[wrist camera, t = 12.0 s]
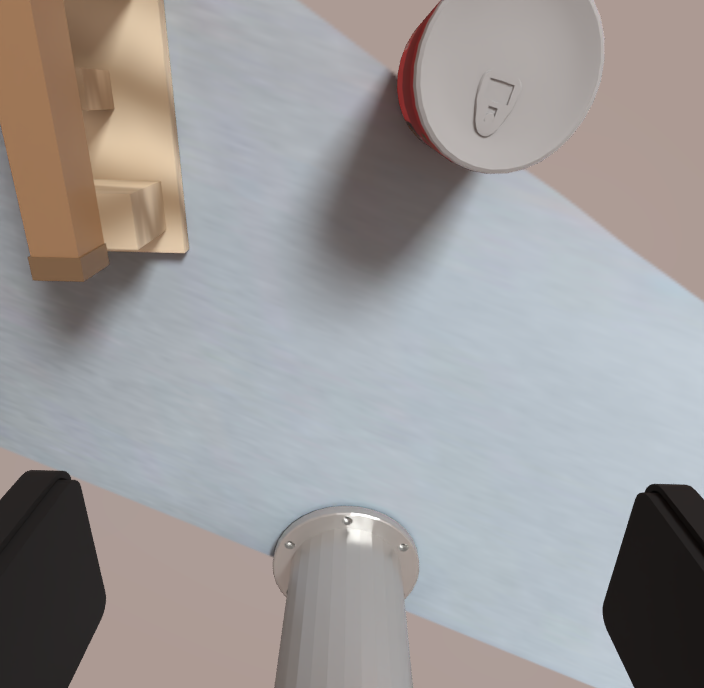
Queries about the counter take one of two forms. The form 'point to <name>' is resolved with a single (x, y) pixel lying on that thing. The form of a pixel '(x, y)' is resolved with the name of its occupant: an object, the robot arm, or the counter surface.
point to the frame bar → (48, 142)
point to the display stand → (129, 122)
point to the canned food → (501, 79)
